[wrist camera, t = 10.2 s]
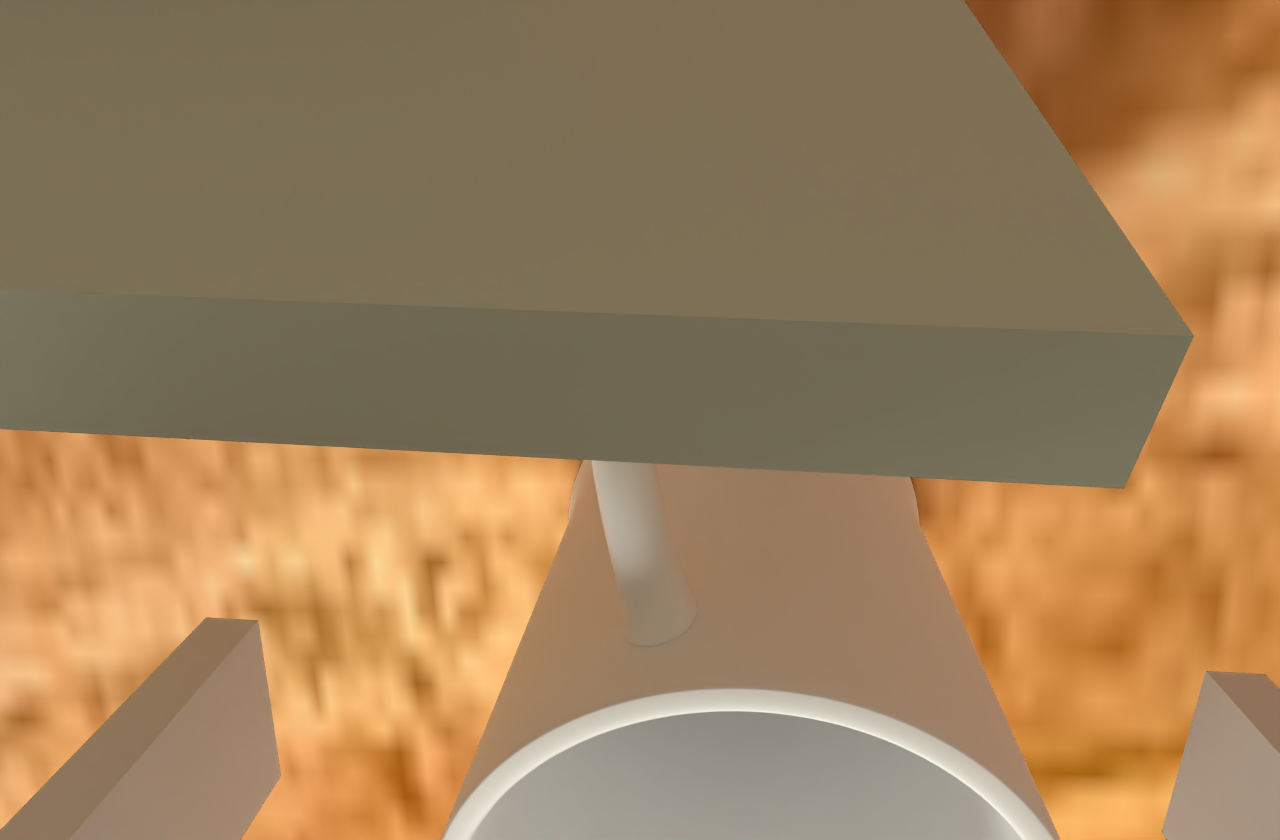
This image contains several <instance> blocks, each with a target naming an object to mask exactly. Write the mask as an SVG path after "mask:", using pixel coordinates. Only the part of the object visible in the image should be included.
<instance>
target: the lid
mask: <svg viewBox="0 0 1280 840" xmlns="http://www.w3.org/2000/svg"><path fill="white" fill-rule="evenodd" d="M1193 337H1194V335H1193V334H1192V333H1191V331H1190V330H1189V328H1188V327H1187V325H1186V324H1185V322H1184V321H1183V319H1182V318H1181V316H1180V315H1179V314H1178V312H1177V311H1176V309H1175V308H1174V306H1173V305H1172V303H1171V302H1170V300H1169V299H1168V297H1167V296H1166V295H1165V293H1164V292H1163V290H1162V289H1161V287H1160V286H1159V284H1158V283H1157V281H1156V280H1155V279H1154V277H1153V276H1152V274H1151V273H1150V271H1149V270H1148V268H1147V267H1146V265H1145V264H1144V262H1143V261H1142V260H1141V258H1140V257H1139V255H1138V254H1137V252H1136V251H1135V249H1134V248H1133V246H1132V245H1131V243H1130V242H1129V241H1128V239H1127V238H1126V236H1125V235H1124V233H1123V232H1122V230H1121V229H1120V227H1119V226H1118V224H1117V223H1116V222H1115V220H1114V219H1113V217H1112V216H1111V214H1110V213H1109V211H1108V210H1107V208H1106V207H1105V205H1104V204H1103V203H1102V201H1101V200H1100V198H1099V197H1098V195H1097V194H1096V192H1095V191H1094V189H1093V188H1092V187H1091V185H1090V184H1089V182H1088V181H1087V179H1086V178H1085V176H1084V175H1083V173H1082V172H1081V170H1080V169H1079V168H1078V166H1077V165H1076V163H1075V162H1074V160H1073V159H1072V157H1071V156H1070V154H1069V153H1068V151H1067V150H1066V149H1065V147H1064V146H1063V144H1062V143H1061V141H1060V140H1059V138H1058V137H1057V135H1056V134H1055V132H1054V131H1053V130H1052V128H1051V127H1050V125H1049V124H1048V122H1047V121H1046V119H1045V118H1044V116H1043V115H1042V114H1041V112H1040V111H1039V109H1038V108H1037V106H1036V105H1035V103H1034V102H1033V100H1032V99H1031V97H1030V96H1029V95H1028V93H1027V92H1026V90H1025V89H1024V87H1023V86H1022V84H1021V83H1020V81H1019V80H1018V78H1017V77H1016V76H1015V74H1014V73H1013V71H1012V70H1011V68H1010V67H1009V65H1008V64H1007V62H1006V61H1005V59H1004V58H1003V57H1002V55H1001V54H1000V52H999V51H998V49H997V48H996V46H995V45H994V43H993V42H992V41H991V39H990V38H989V36H988V35H987V33H986V32H985V30H984V29H983V27H982V26H981V24H980V23H979V22H978V20H977V19H976V17H975V16H974V14H973V13H972V11H971V10H970V8H969V7H968V5H967V4H966V3H965V1H964V0H0V429H12V430H31V431H50V432H69V433H88V434H106V435H125V436H144V437H163V438H182V439H200V440H219V441H238V442H257V443H276V444H294V445H313V446H332V447H351V448H370V449H389V450H407V451H426V452H445V453H464V454H483V455H501V456H520V457H539V458H558V459H577V460H595V461H614V462H633V463H652V464H671V465H690V466H708V467H727V468H746V469H765V470H784V471H802V472H821V473H840V474H859V475H878V476H897V477H915V478H934V479H953V480H972V481H991V482H1009V483H1028V484H1047V485H1066V486H1085V487H1103V488H1122V489H1124V487H1125V485H1126V483H1127V481H1128V479H1129V477H1130V474H1131V472H1132V470H1133V468H1134V466H1135V463H1136V461H1137V459H1138V457H1139V455H1140V452H1141V450H1142V448H1143V446H1144V444H1145V442H1146V439H1147V437H1148V435H1149V433H1150V431H1151V428H1152V426H1153V424H1154V422H1155V420H1156V417H1157V415H1158V413H1159V411H1160V409H1161V407H1162V404H1163V402H1164V400H1165V398H1166V396H1167V393H1168V391H1169V389H1170V387H1171V385H1172V382H1173V380H1174V378H1175V376H1176V374H1177V372H1178V369H1179V367H1180V365H1181V363H1182V361H1183V358H1184V356H1185V354H1186V352H1187V350H1188V347H1189V345H1190V343H1191V341H1192V339H1193Z"/></svg>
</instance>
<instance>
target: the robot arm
mask: <svg viewBox="0 0 1280 840" xmlns="http://www.w3.org/2000/svg"><path fill="white" fill-rule="evenodd" d="M280 776H281V772H280V765H279V758H278V752H277V745H276V738H275V731H274V724H273V718H272V711H271V704H270V697H269V691H268V684H267V677H266V670H265V664H264V657H263V650H262V643H261V637H260V630H259V623H258V620H241V619H223V618H205V619H204V620H203V622H202V623H201V624H200V625H199V626H198V627H197V628H196V629H195V630H194V631H193V632H192V633H191V634H190V635H189V636H188V637H187V638H186V639H185V640H184V641H183V642H182V643H181V644H180V645H179V646H178V647H177V648H176V649H175V650H174V651H173V652H172V654H171V655H170V656H169V657H168V658H167V659H166V660H165V661H164V662H163V663H162V664H161V665H160V666H159V667H158V668H157V669H156V670H155V671H154V672H153V673H152V674H151V675H150V676H149V677H148V678H147V679H146V680H145V681H144V682H143V683H142V684H141V686H140V687H139V688H138V689H137V690H136V691H135V692H134V693H133V694H132V695H131V696H130V697H129V698H128V699H127V700H126V701H125V702H124V703H123V704H122V705H121V706H120V707H119V708H118V709H117V710H116V711H115V712H114V713H113V714H112V715H111V717H110V718H109V719H108V720H107V721H106V722H105V723H104V724H103V725H102V726H101V727H100V728H99V729H98V730H97V731H96V732H95V733H94V734H93V735H92V736H91V737H90V738H89V739H88V740H87V741H86V742H85V743H84V744H83V745H82V746H81V747H80V749H79V750H78V751H77V752H76V753H75V754H74V755H73V756H72V757H71V758H70V759H69V760H68V761H67V762H66V763H65V764H64V765H63V766H62V767H61V768H60V769H59V770H58V771H57V772H56V773H55V774H54V775H53V776H52V777H51V778H50V779H49V781H48V782H47V783H46V784H45V785H44V786H43V787H42V788H41V789H40V790H39V791H38V792H37V793H36V794H35V795H34V796H33V797H32V798H31V799H30V800H29V801H28V802H27V803H26V804H25V805H24V806H23V807H22V808H21V809H20V810H19V811H18V813H17V814H16V815H15V816H14V817H13V818H12V819H11V820H10V821H9V822H8V823H7V824H6V825H5V826H4V827H3V828H2V829H1V830H0V840H241V838H242V837H243V835H244V834H245V832H246V831H247V829H248V827H249V826H250V824H251V823H252V821H253V819H254V818H255V816H256V815H257V813H258V811H259V810H260V808H261V807H262V805H263V804H264V802H265V800H266V799H267V797H268V796H269V794H270V792H271V791H272V789H273V788H274V786H275V784H276V783H277V781H278V780H279V778H280ZM1162 833H1163V834H1164V836H1165V838H1166V839H1167V840H1280V689H1279V688H1278V687H1277V686H1276V685H1275V684H1274V683H1273V682H1272V681H1271V680H1270V679H1269V678H1268V677H1267V676H1266V675H1265V674H1252V673H1233V672H1214V671H1206V673H1205V676H1204V680H1203V684H1202V687H1201V691H1200V694H1199V698H1198V702H1197V705H1196V709H1195V713H1194V716H1193V720H1192V724H1191V727H1190V731H1189V734H1188V738H1187V742H1186V745H1185V749H1184V753H1183V756H1182V760H1181V764H1180V767H1179V771H1178V774H1177V778H1176V782H1175V785H1174V789H1173V793H1172V796H1171V800H1170V804H1169V807H1168V811H1167V814H1166V818H1165V822H1164V825H1163V829H1162Z"/></svg>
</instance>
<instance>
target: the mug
mask: <svg viewBox="0 0 1280 840" xmlns="http://www.w3.org/2000/svg"><path fill="white" fill-rule="evenodd" d="M441 840H1060V838H1059V836H1058V833H1057V831H1056V829H1055V827H1054V824H1053V822H1052V820H1051V818H1050V815H1049V813H1048V811H1047V809H1046V807H1045V804H1044V802H1043V800H1042V798H1041V795H1040V793H1039V791H1038V789H1037V786H1036V784H1035V782H1034V780H1033V777H1032V775H1031V773H1030V771H1029V769H1028V766H1027V764H1026V762H1025V760H1024V757H1023V755H1022V753H1021V751H1020V748H1019V746H1018V744H1017V742H1016V739H1015V737H1014V735H1013V733H1012V731H1011V728H1010V726H1009V724H1008V722H1007V719H1006V717H1005V715H1004V713H1003V710H1002V708H1001V706H1000V704H999V701H998V699H997V697H996V695H995V693H994V690H993V688H992V686H991V684H990V681H989V679H988V677H987V675H986V672H985V670H984V668H983V666H982V664H981V661H980V659H979V657H978V655H977V652H976V650H975V648H974V646H973V643H972V641H971V639H970V637H969V634H968V632H967V630H966V628H965V626H964V623H963V621H962V619H961V617H960V614H959V612H958V610H957V608H956V605H955V603H954V601H953V599H952V596H951V594H950V592H949V590H948V588H947V585H946V583H945V581H944V579H943V576H942V574H941V572H940V570H939V567H938V565H937V563H936V561H935V558H934V556H933V554H932V552H931V550H930V547H929V545H928V543H927V541H926V538H925V536H924V534H923V532H922V529H921V527H920V525H919V513H918V506H917V500H916V496H915V492H914V488H913V485H912V482H911V479H910V477H897V476H878V475H859V474H840V473H821V472H802V471H784V470H765V469H746V468H727V467H708V466H690V465H671V464H652V463H633V462H614V461H595V460H583V462H582V464H581V466H580V469H579V471H578V474H577V477H576V479H575V483H574V486H573V490H572V494H571V499H570V505H569V515H568V525H567V528H566V531H565V533H564V536H563V538H562V541H561V543H560V545H559V548H558V550H557V553H556V555H555V558H554V560H553V563H552V565H551V568H550V570H549V573H548V575H547V578H546V580H545V583H544V585H543V587H542V590H541V592H540V595H539V597H538V600H537V602H536V605H535V607H534V610H533V612H532V615H531V617H530V620H529V622H528V625H527V627H526V629H525V632H524V634H523V637H522V639H521V642H520V644H519V647H518V649H517V652H516V654H515V657H514V659H513V662H512V664H511V667H510V669H509V671H508V674H507V676H506V679H505V681H504V684H503V686H502V689H501V691H500V694H499V696H498V699H497V701H496V704H495V706H494V709H493V711H492V713H491V716H490V718H489V721H488V723H487V726H486V728H485V731H484V733H483V736H482V738H481V741H480V743H479V746H478V748H477V750H476V753H475V755H474V758H473V760H472V763H471V765H470V768H469V770H468V773H467V775H466V778H465V780H464V783H463V785H462V788H461V790H460V792H459V795H458V797H457V800H456V802H455V805H454V807H453V810H452V812H451V815H450V817H449V820H448V822H447V825H446V827H445V830H444V833H443V835H442V838H441Z"/></svg>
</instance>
